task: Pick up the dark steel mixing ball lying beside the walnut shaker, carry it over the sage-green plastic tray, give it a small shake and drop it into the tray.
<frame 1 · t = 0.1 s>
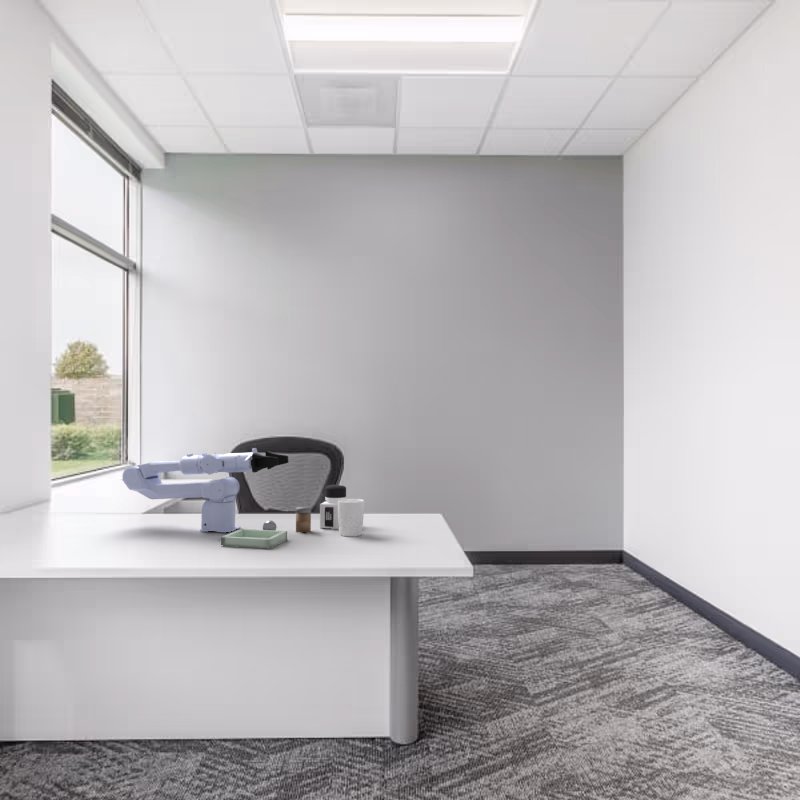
hand: (282, 460, 189), 22 cm above the table, tool horizontal, fingers open, 7 cm apart
white cup: (350, 535, 188), on the table
tray: (254, 542, 175), on the table
ball: (269, 534, 187), on the table
shaker: (303, 531, 192), on the table
container: (335, 527, 199), on the table
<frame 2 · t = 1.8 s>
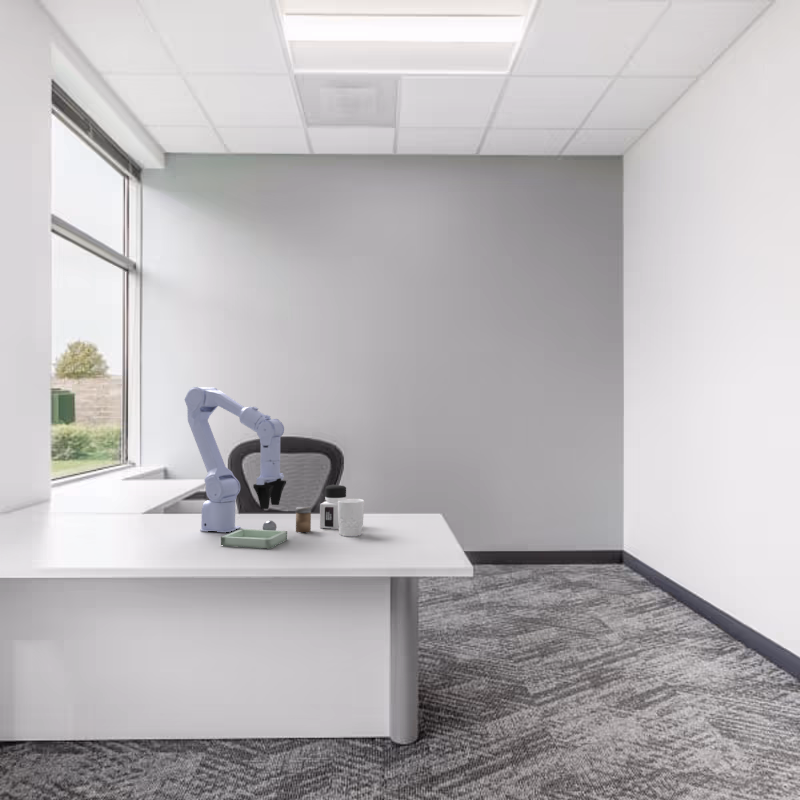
hand: (269, 506, 187), 8 cm above the table, tool pointing down, fingers open, 7 cm apart
nothing on the table moved.
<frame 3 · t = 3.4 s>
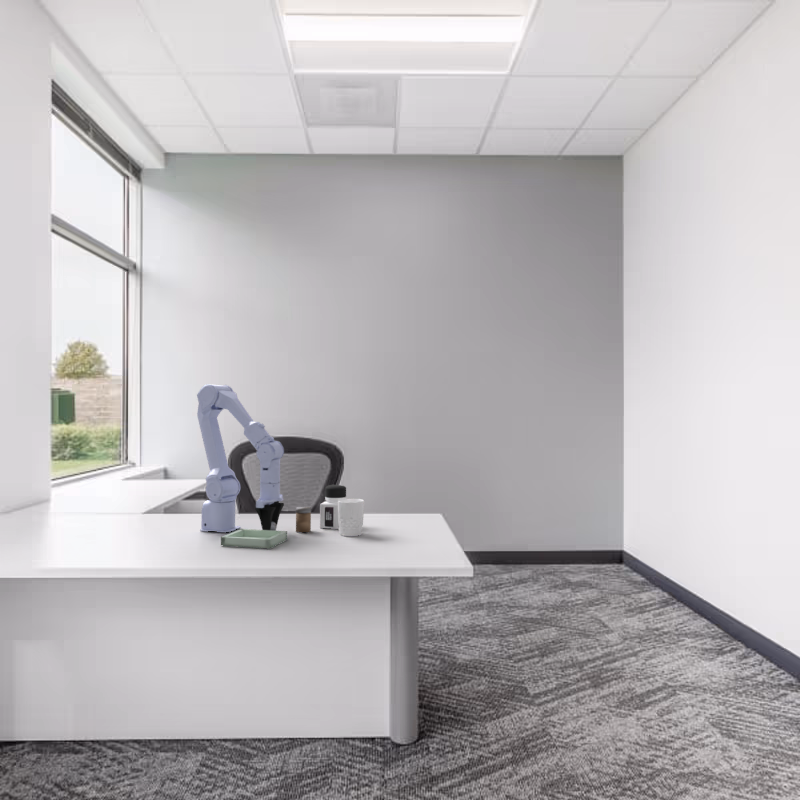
hand: (269, 529, 187), 2 cm above the table, tool pointing down, fingers closed on ball, 4 cm apart
ball: (269, 534, 187), on the table, touching gripper
everything else where it was.
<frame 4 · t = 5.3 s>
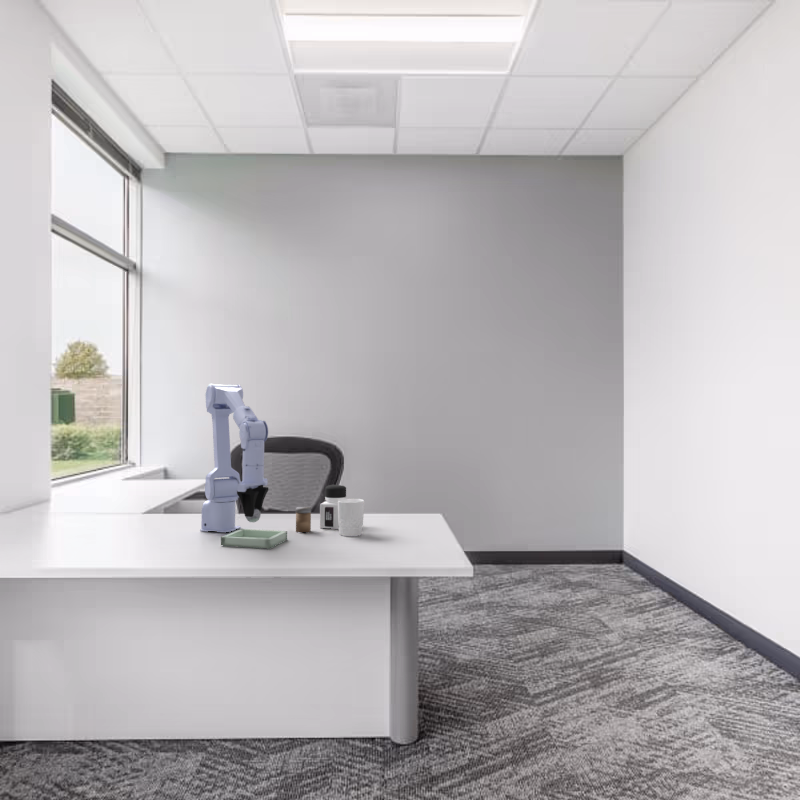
hand: (252, 515, 174), 8 cm above the table, tool pointing down, fingers closed on ball, 4 cm apart
ball: (253, 522, 174), point 6 cm above the table, touching gripper
everything else where it was.
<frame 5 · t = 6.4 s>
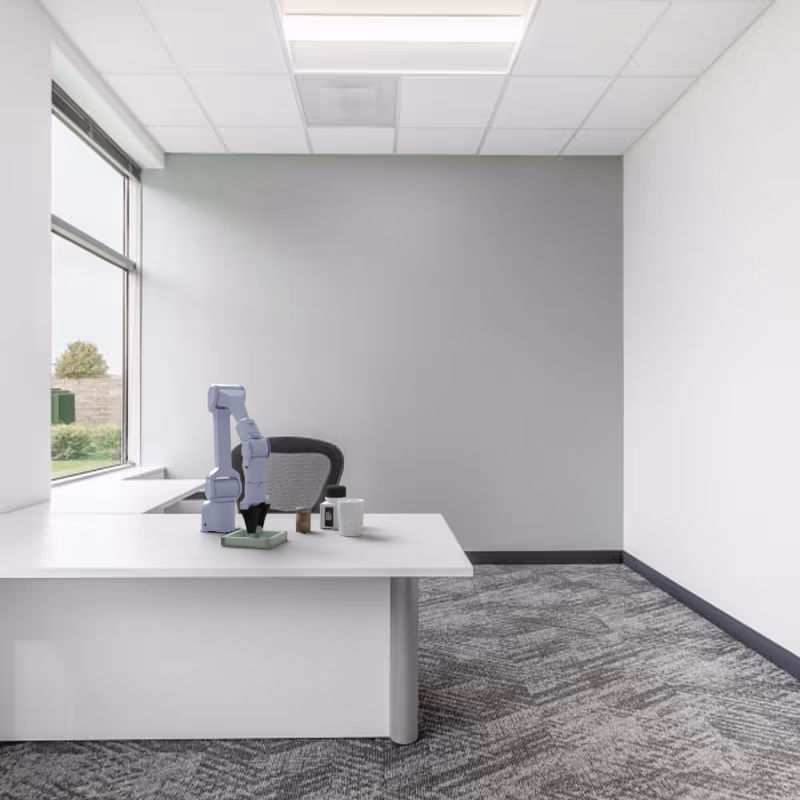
hand: (255, 531, 175), 3 cm above the table, tool pointing down, fingers closed on ball, 4 cm apart
ball: (255, 538, 175), point 1 cm above the table, touching gripper
everything else where it was.
when the fingers open (3 cm above the table, at t = 7.2 s): ball stays where it is, resting on tray.
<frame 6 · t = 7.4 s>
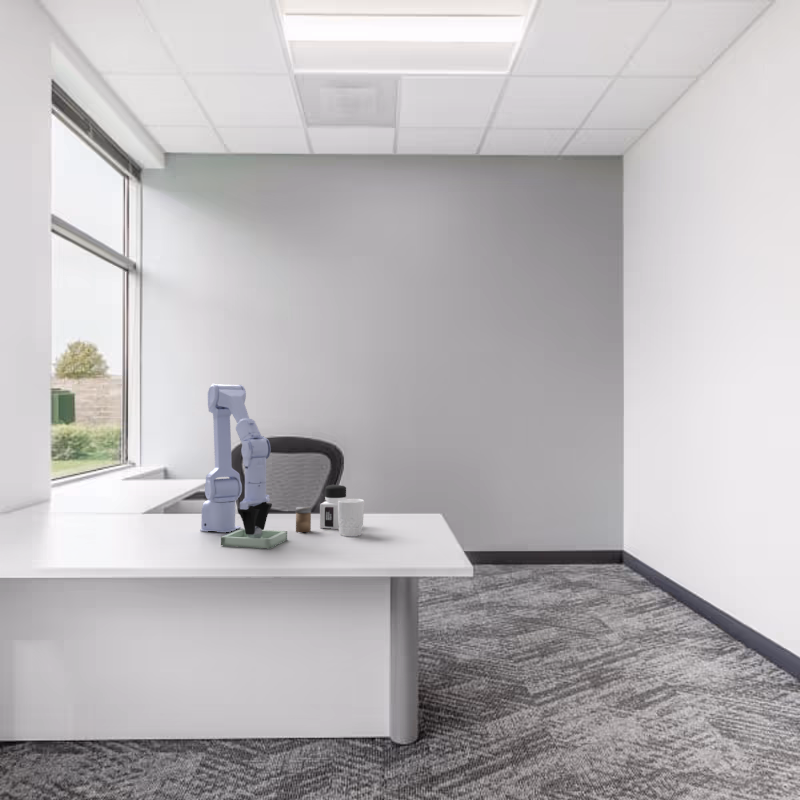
hand: (254, 531, 175), 3 cm above the table, tool pointing down, fingers open, 6 cm apart
ball: (255, 540, 175), point 1 cm above the table, tilted 10°, touching tray
everything else where it was.
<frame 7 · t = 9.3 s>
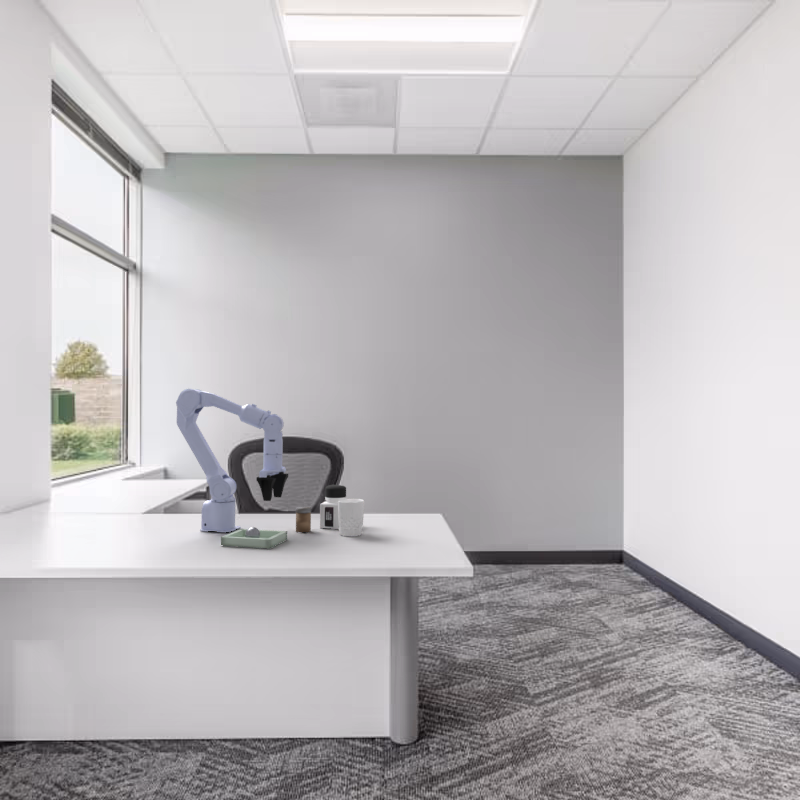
hand: (272, 498, 193), 9 cm above the table, tool pointing down, fingers open, 7 cm apart
ball: (255, 537, 175), point 2 cm above the table, tilted 57°, touching tray
everything else where it was.
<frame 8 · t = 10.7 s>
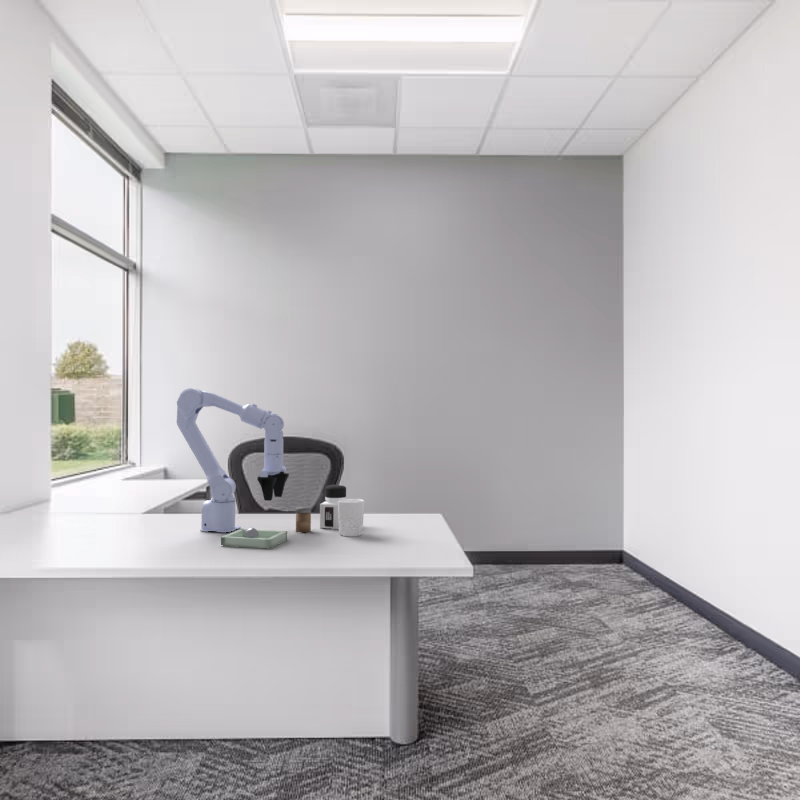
hand: (273, 498, 194), 9 cm above the table, tool pointing down, fingers open, 7 cm apart
ball: (254, 534, 174), point 2 cm above the table, tilted 86°, touching tray
everything else where it was.
at the end: ball inside the target area on the tray (0.8 cm from its centre), point 2.4 cm above the tray's base; the gripper is holding nothing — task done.
